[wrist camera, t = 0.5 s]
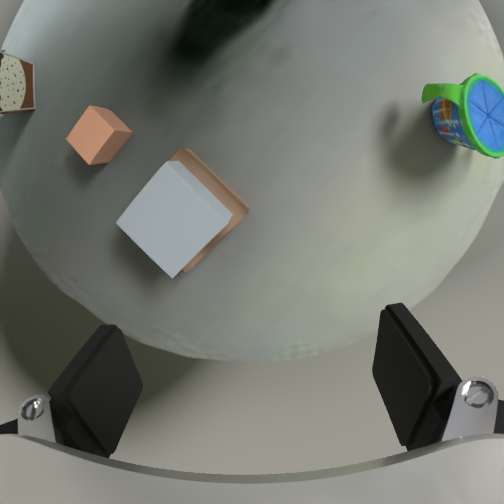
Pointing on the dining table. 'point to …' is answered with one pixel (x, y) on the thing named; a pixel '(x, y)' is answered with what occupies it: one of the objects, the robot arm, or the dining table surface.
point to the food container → (16, 84)
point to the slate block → (173, 217)
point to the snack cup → (469, 113)
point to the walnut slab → (218, 191)
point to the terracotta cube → (98, 135)
